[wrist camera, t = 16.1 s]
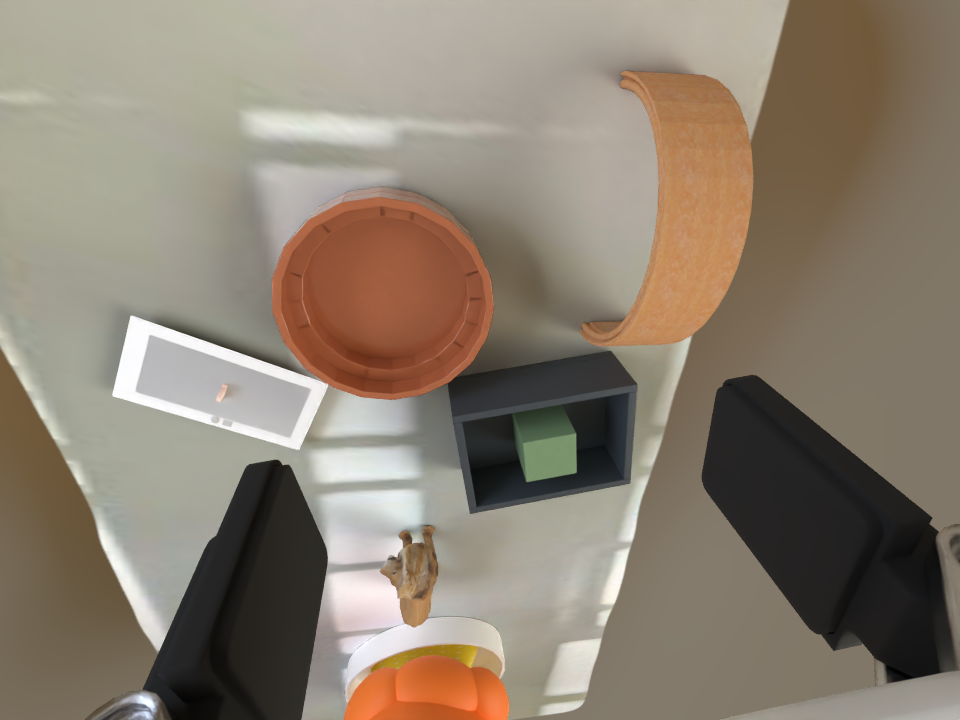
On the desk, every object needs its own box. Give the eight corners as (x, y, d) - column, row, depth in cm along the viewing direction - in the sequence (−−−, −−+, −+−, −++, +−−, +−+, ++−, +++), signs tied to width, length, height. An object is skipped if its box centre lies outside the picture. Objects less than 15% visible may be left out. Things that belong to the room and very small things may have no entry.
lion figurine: (381, 509, 49) (376, 587, 42) (431, 501, 50) (435, 577, 42) (402, 593, 57) (401, 672, 49) (445, 586, 57) (451, 663, 49)
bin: (446, 378, 42) (452, 417, 37) (610, 350, 43) (637, 384, 38) (463, 470, 48) (470, 514, 43) (607, 443, 49) (630, 483, 44)
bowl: (255, 204, 33) (236, 217, 29) (472, 172, 34) (480, 182, 30) (319, 385, 41) (310, 414, 37) (494, 356, 42) (502, 381, 38)
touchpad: (138, 309, 35) (123, 321, 34) (330, 377, 41) (327, 391, 39) (119, 388, 38) (104, 403, 37) (301, 442, 44) (296, 458, 42)
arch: (700, 75, 33) (804, 70, 24) (638, 331, 43) (697, 392, 34) (621, 70, 32) (701, 63, 23) (577, 332, 42) (621, 395, 33)
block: (510, 404, 44) (522, 443, 39) (557, 396, 44) (576, 433, 39) (513, 441, 46) (526, 482, 41) (559, 433, 46) (576, 473, 41)
